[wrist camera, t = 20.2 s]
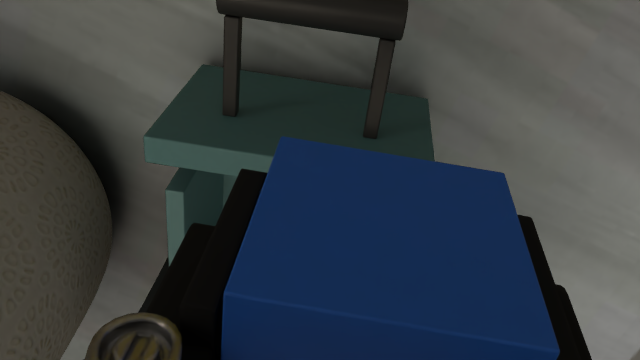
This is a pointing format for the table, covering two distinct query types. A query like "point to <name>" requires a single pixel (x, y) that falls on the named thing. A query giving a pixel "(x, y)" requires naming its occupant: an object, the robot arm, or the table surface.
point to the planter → (46, 234)
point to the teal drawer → (278, 109)
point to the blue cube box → (382, 264)
